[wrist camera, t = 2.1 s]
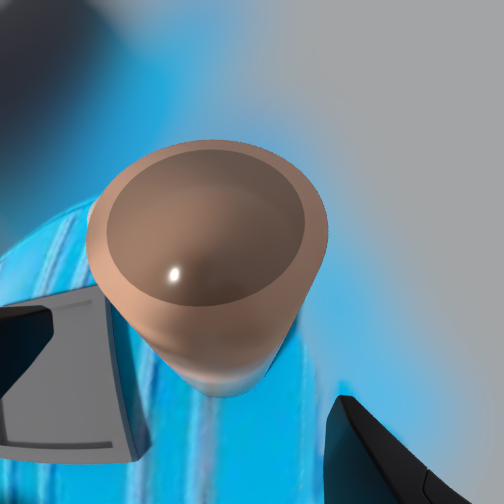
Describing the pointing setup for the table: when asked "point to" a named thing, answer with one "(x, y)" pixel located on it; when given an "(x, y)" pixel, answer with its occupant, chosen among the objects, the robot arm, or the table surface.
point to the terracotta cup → (209, 257)
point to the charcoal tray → (70, 390)
